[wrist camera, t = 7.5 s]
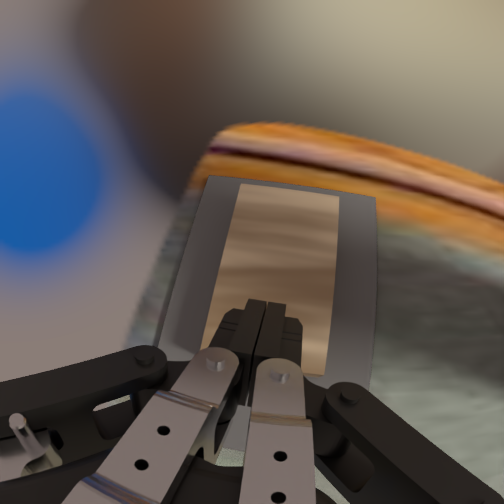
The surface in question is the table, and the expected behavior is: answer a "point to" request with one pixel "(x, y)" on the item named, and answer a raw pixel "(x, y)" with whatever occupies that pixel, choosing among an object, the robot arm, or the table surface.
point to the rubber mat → (344, 299)
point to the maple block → (281, 263)
